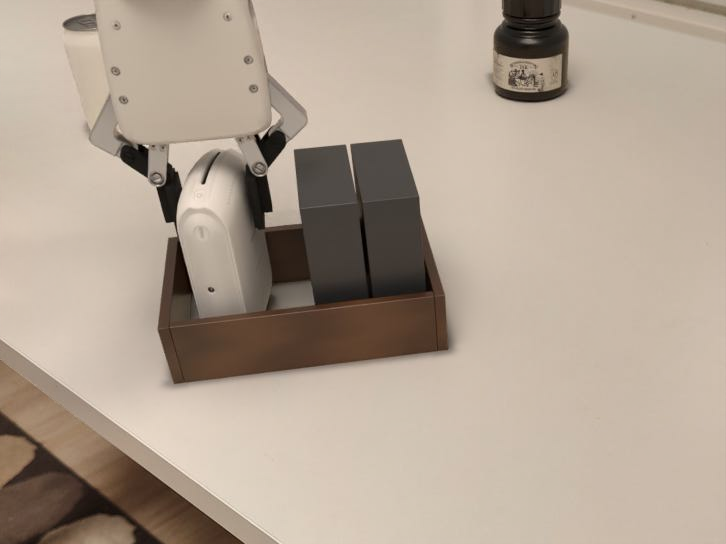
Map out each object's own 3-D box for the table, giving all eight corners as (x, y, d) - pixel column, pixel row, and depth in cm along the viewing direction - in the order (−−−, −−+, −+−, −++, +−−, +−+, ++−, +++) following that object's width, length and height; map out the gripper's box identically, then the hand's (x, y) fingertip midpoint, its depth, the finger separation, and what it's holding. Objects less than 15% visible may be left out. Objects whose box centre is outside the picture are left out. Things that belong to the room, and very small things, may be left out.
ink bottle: (480, 98, 113) (478, -12, 105) (503, 72, 119) (502, -33, 111) (559, 106, 110) (563, -5, 102) (578, 79, 116) (583, -28, 108)
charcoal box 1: (322, 353, 73) (299, 208, 65) (315, 286, 80) (293, 148, 72) (374, 347, 73) (357, 202, 65) (362, 281, 80) (345, 143, 72)
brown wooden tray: (177, 396, 71) (157, 329, 67) (185, 301, 81) (167, 237, 77) (448, 362, 73) (445, 295, 69) (424, 273, 83) (419, 210, 79)
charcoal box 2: (378, 346, 73) (361, 202, 65) (366, 281, 80) (349, 143, 72) (429, 340, 74) (419, 196, 66) (412, 275, 81) (401, 138, 73)
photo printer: (257, 350, 71) (224, 195, 63) (200, 351, 71) (159, 196, 63) (279, 279, 78) (252, 132, 70) (228, 279, 79) (195, 133, 70)
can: (106, 150, 104) (72, 35, 96) (83, 132, 108) (48, 20, 100) (160, 134, 107) (132, 21, 99) (136, 117, 111) (106, 7, 103)
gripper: (299, -75, 61) (334, 191, 73) (25, -56, 59) (108, 214, 71) (304, -45, 56) (341, 237, 68) (3, -23, 54) (97, 263, 66)
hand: (221, 222), depth 69 cm, fingers closed on photo printer, 4 cm apart
